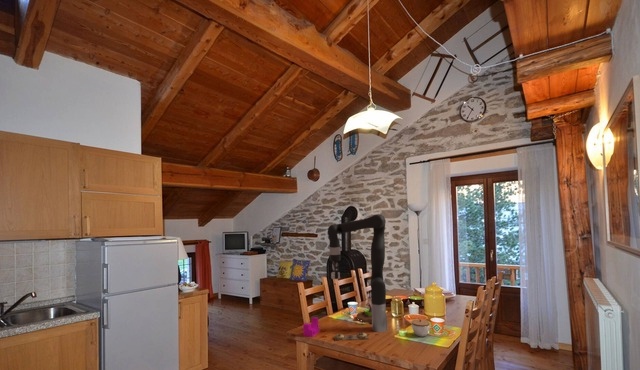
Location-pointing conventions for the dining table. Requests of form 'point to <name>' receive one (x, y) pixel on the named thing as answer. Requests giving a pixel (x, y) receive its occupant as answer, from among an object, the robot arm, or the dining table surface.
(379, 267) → the robot arm
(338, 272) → the idler gear
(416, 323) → the lidded jar
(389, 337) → the dining table surface
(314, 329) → the toy block
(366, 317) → the plant
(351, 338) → the gear board
